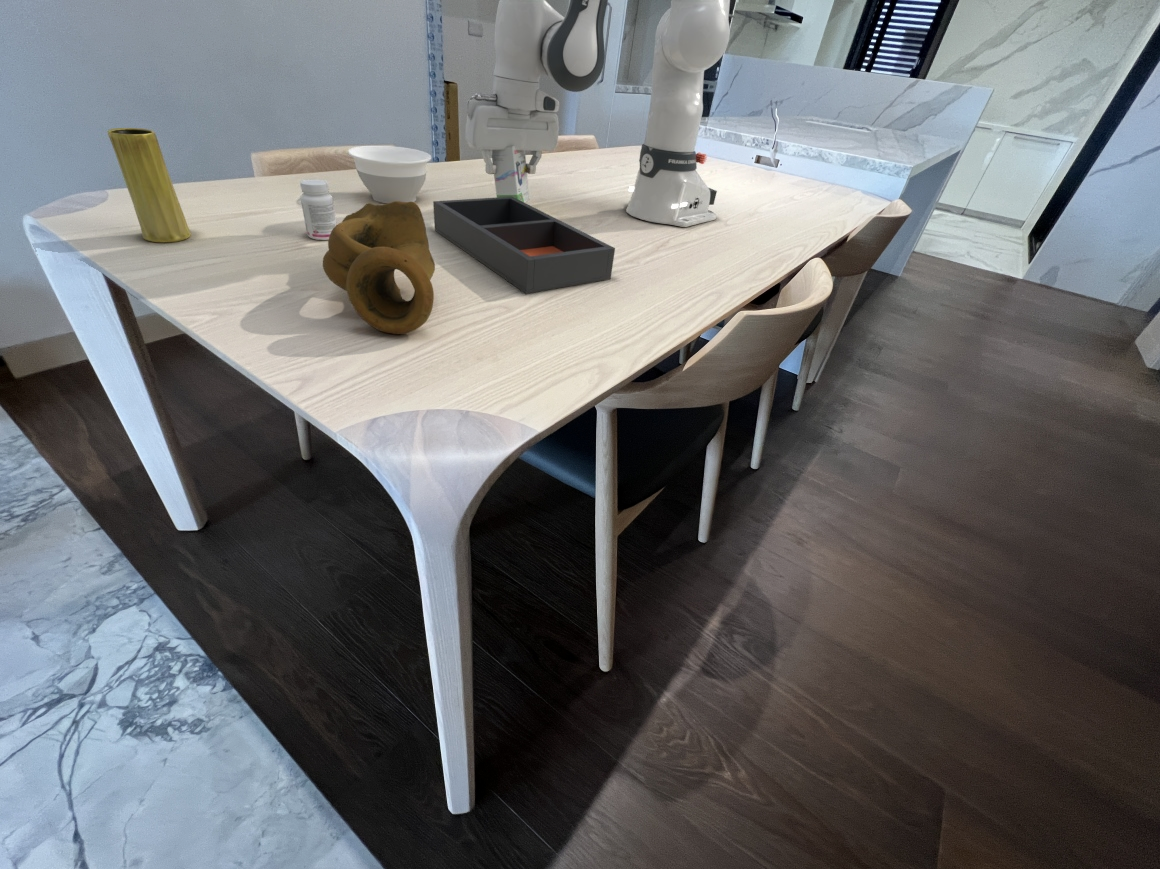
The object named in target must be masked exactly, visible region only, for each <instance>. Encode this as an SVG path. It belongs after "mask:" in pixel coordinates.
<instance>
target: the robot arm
mask: <svg viewBox="0 0 1160 869" xmlns="http://www.w3.org/2000/svg"><path fill="white" fill-rule="evenodd" d="M608 2H609V0H568V6H567V10H566V13H565V15H564V16H563V15H562V14H561V13H559V12H558V11H557V10H556V9H554V7H553V6H552V5H550V3H549V2H548V1H547V0H499V1H498V5H497V9H496V15H495V26H494V41H493V42H494V44H493V45H494V47H493V48H494V53H495V65H494V69H493V72H492V73H493V74H492V93H480V92H475V93H473V95H471V96H470V97H469V98H468V99H467V102H466V115H467V116H466V123H465V133H464V140H465V144H467V146H468V147H470V148H471V149H473V150H480V156H481V157H482V159H483V162H484V164H485V170H484V171H485V173H486V174H488V175H494V174H496V165H495V164H493V162H492V158H491V157H492V150H505V149H506V147H509V146H515V149H516V150H519V151H525V152H526V151H527V152H530V155H532V156H531V158H530V160H529V162H528V163H527V162H526V169H525V171H526V173H527V175H535V174H536V173H537V172H536V170H537V165H538V164H539V162H540V160H541V159H542V155H543V152H554V151H555V150H556V148H557V146H558V142H559V132H560V130H559V129H560V122H559V121H560V120H559V116H558V114H557V112H559V109H560V101H559V100H558V99H556V98H555V97H553V96H552V95H550V94H548V93H546V92H545V91H543V90H541V89H540V81H541V80H540V79H541V77H542V76H546V77H548V78H550V79H551V80H552V81H553V82H555V83H557V85H558V86H560V87H561V88H562V89H564V90H566V91H569V92H572V93H573V92H574V93H580V92H583V91H585V90H588V89H590V88H591V87H592V86H593V85H594V84H595V83H596V82H597V81H598V79H599V78H600V76H601V74H602V72H603V71H602V70H603V69H604V65H605V56H606V55H605V38H604V25H605V24H604V23H605V16H606V11H607V6H608ZM670 2H671V3H670V8H668V9H667V10H666V11H665V13H664V14H663V15H662V16H661V18H660V20H659V22H658V23H657V27H656V30H655V38H654V49H653V61H652V72H651V90H650V103H649V111H648V117H647V123H646V128H645V135H644V142H643V143H642V144H641V149H640V151H639V159H638V162H639V170H638V171H637V174H636V178H635V181H634V185H633V186H631V185H630V186H629V187H628V192H632V193H631V197H630V199H629V201H628V203H627V207H626V210H625V211H626V214H628V215H630V216H631V217H634V218H636V219H640V220H643V221H646V222H650V223H655V224H665V225H671V226H676V227H682V228H688V227H691V226H695V225H699V224H704V223H708V222H711V221H714V220H717V217H718V215H717V213H715V212H714V211H712V210H711V209H709V207H710V206H713V205H715V200H716V197H717V193H718V190H716V189H713V188H711V187H708V185H707V184H706V183H705V181H704V180H703V179H702V177H701V176H700V174H699V173H698V171H697V169H698V167H697V165H698V164H697V163H699V164H701V165H704V164H705V163H706V162H707V157H708V156H707V154H706V153H701V152H696V151H695V150H696V145H697V140H698V136H699V131H700V127H701V121H702V116H703V111H704V103H703V96H704V94H703V93H704V80H705V79H704V78H705V71H706V70H708V69H710V68H711V67H713V66H714V65H715V64H716V63H717V62H718V61H719V60H720V59H721V58H722V57H723V55H724V54H725V52H726V50H727V48H728V45H729V42H730V35H731V28H730V22H729V21H730V20H729V16H730V4H731V0H670Z"/></svg>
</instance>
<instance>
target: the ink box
mask: <svg viewBox="0 0 1160 869" xmlns="http://www.w3.org/2000/svg"><path fill="white" fill-rule="evenodd" d="M526 158H527V157H526V151H519V150H516V149H515V146H509V147H506V149H505V150H492V156H491V161H492V163H493V164H495V165H496V174H493V178H494V186H495V195H496V197H514V198H516V199H518V200H520V201H522V202H524V203H526V204H527V202H529V201H531V200H530V188H529V178H528V177H529V176H528V173H526V171H525V169H526V163H527V159H526Z"/></svg>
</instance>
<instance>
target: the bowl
mask: <svg viewBox="0 0 1160 869" xmlns="http://www.w3.org/2000/svg"><path fill="white" fill-rule="evenodd" d="M347 154H348V155H349V156H350V157H351V158H353V161H354V166H355V170H356V172H357V175H358V177H359V179H360V181H361V183H362V184H363V185H364V187H365V188H366V189H367V191H369V193H370V194H371V196H372V199H373V200H374V201H375V202H378V203H383V204H388V203H391V202H394V201H400V202H414V203H416V201H417V196H418V194H419V193H420V191H421V190H422V188H423V187H424V184H425V182H426V178H427V173H428V166H427V165H428V163H429V162H430V161H432V155H431V154H430V153H428V152H426V151H423V150H421V149H420V150H419V149H415V148H410V147H403V146H394V145H361V146H355V147H352V148H349V149H348V150H347Z"/></svg>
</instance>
